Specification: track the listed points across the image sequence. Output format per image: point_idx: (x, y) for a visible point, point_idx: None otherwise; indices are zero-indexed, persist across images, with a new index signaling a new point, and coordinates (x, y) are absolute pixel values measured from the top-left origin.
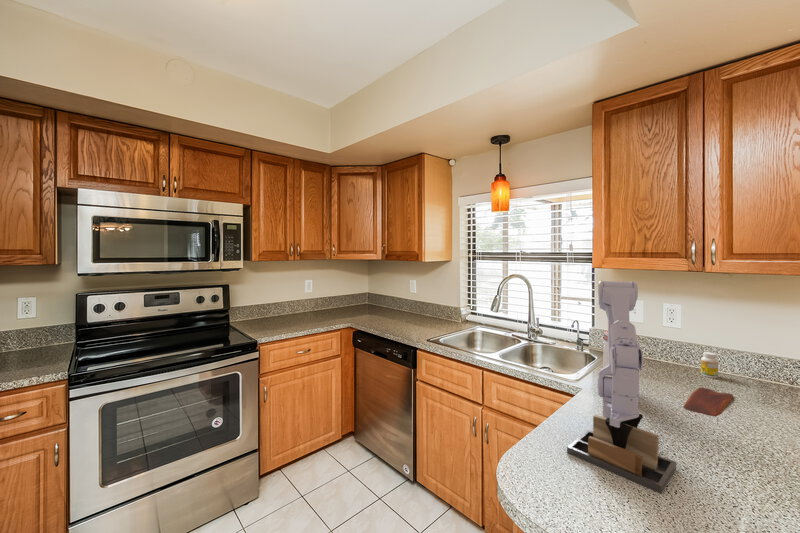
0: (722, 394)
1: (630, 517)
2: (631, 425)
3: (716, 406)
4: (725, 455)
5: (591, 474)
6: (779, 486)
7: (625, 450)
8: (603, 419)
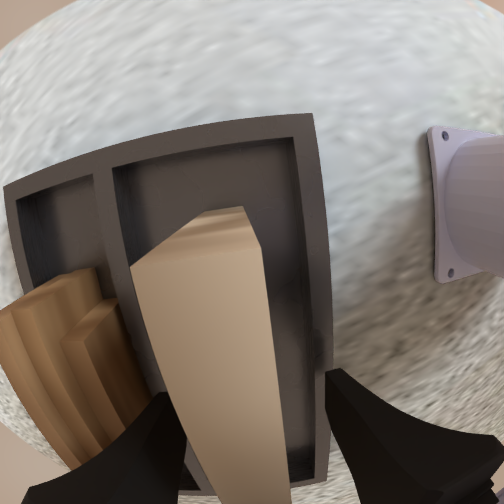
0: None
1: (20, 428)
2: (363, 486)
3: None
4: (475, 429)
5: None
6: None
7: None
8: (182, 422)
